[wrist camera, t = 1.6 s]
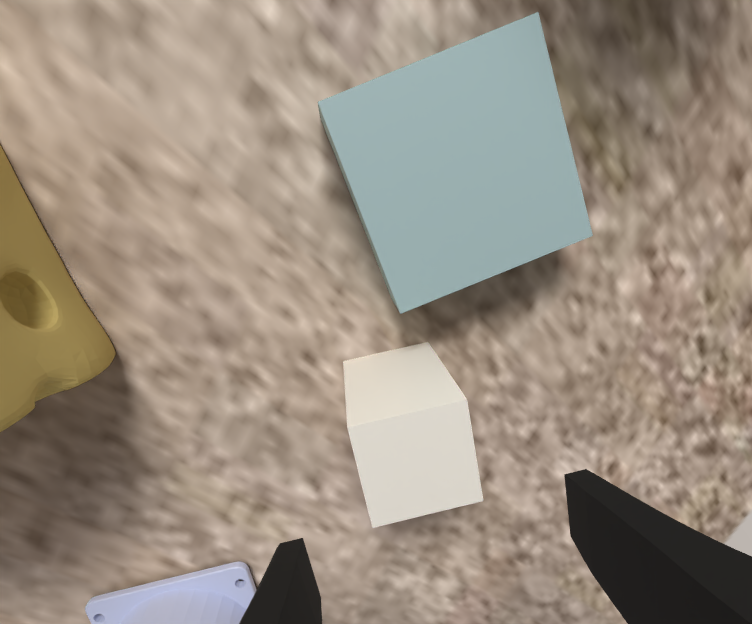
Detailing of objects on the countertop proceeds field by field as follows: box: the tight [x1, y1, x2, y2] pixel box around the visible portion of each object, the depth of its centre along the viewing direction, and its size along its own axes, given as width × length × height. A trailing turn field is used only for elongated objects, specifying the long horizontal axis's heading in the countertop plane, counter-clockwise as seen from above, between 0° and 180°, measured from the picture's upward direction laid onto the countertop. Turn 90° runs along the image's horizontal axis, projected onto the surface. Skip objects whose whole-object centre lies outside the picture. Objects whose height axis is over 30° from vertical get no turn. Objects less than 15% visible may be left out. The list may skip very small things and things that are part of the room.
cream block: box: [343, 342, 483, 528], centre depth 17 cm, size 4×4×6 cm
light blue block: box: [318, 12, 593, 314], centre depth 17 cm, size 8×8×3 cm
